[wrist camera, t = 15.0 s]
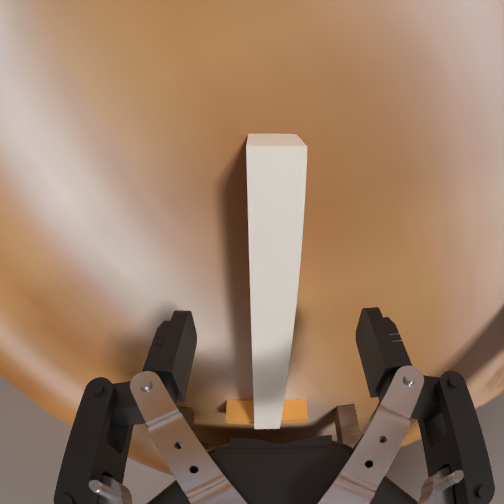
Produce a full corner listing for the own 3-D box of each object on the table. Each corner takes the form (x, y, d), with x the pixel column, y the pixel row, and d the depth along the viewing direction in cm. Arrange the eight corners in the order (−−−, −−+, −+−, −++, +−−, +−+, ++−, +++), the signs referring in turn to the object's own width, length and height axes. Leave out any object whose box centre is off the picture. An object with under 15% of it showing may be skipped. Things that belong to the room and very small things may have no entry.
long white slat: (348, 136, 14) (372, 150, 11) (304, 402, 27) (307, 430, 24) (193, 136, 14) (176, 149, 11) (227, 403, 27) (225, 432, 24)
